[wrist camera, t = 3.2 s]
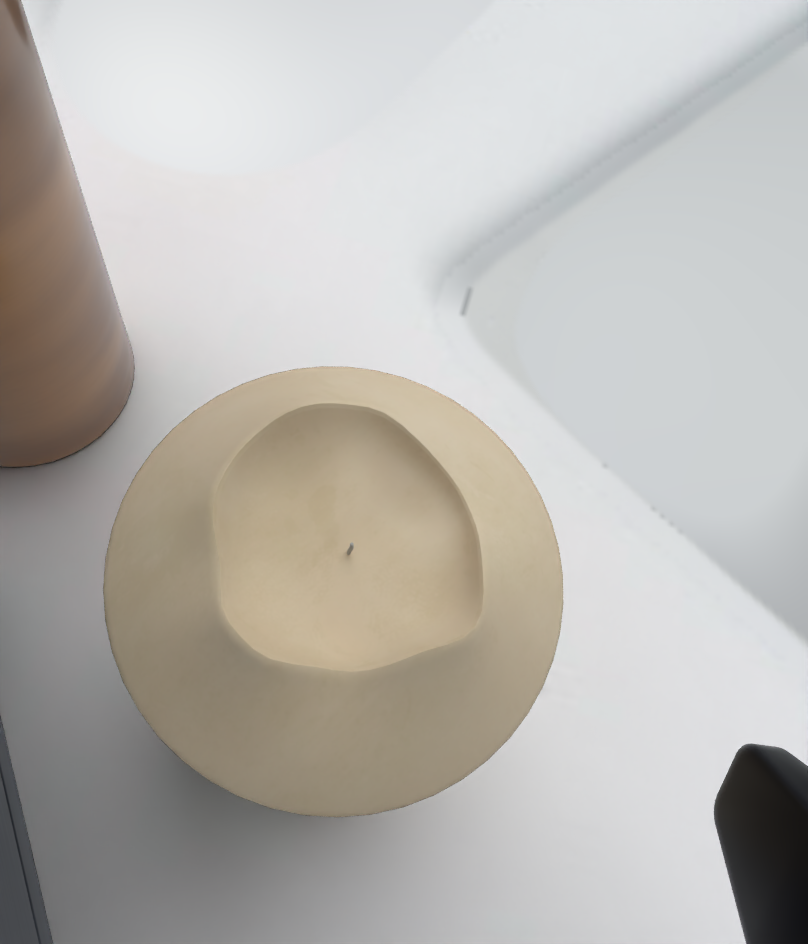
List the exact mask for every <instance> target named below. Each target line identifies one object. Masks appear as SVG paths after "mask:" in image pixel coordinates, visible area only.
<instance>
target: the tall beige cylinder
mask: <svg viewBox="0 0 808 944" xmlns="http://www.w3.org/2000/svg"><path fill="white" fill-rule="evenodd" d="M133 379H134V357H133V352H132V348H131V344H130V341H129V338H128V335H127V331H126V328H125V325H124V322H123V319H122V316H121V313H120V310H119V306H118V303H117V300H116V297H115V294H114V291H113V288H112V284H111V281H110V278H109V275H108V272H107V269H106V266H105V262H104V259H103V256H102V253H101V250H100V247H99V244H98V240H97V237H96V234H95V231H94V228H93V225H92V222H91V218H90V215H89V212H88V209H87V206H86V203H85V200H84V196H83V193H82V190H81V187H80V184H79V181H78V178H77V174H76V171H75V168H74V165H73V162H72V159H71V156H70V152H69V149H68V146H67V143H66V140H65V137H64V134H63V130H62V127H61V124H60V121H59V118H58V115H57V112H56V108H55V105H54V102H53V99H52V96H51V93H50V90H49V86H48V83H47V80H46V77H45V74H44V71H43V68H42V65H41V61H40V58H39V55H38V52H37V49H36V46H35V43H34V39H33V36H32V33H31V30H30V27H29V24H28V21H27V17H26V14H25V11H24V8H23V5H22V2H21V0H0V466H2V467H24V466H33V465H39V464H44V463H48V462H52V461H55V460H58V459H61V458H64V457H66V456H68V455H71V454H73V453H75V452H77V451H79V450H81V449H82V448H84V447H85V446H87V445H89V444H90V443H92V442H93V441H94V440H95V439H97V438H98V437H99V436H100V435H102V434H103V433H104V432H105V431H106V430H107V429H108V428H109V427H110V426H111V425H112V423H113V422H114V421H115V419H116V418H117V417H118V415H119V414H120V413H121V411H122V409H123V407H124V406H125V404H126V402H127V399H128V397H129V394H130V392H131V388H132V384H133Z"/></svg>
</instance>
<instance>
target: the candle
mask: <svg viewBox="0 0 808 944" xmlns="http://www.w3.org/2000/svg"><path fill="white" fill-rule="evenodd" d="M103 593H104V608H105V621H106V626H107V631H108V635H109V640H110V645H111V649H112V653H113V656H114V658H115V661H116V664H117V667H118V669H119V672H120V675H121V677H122V680H123V683H124V684H125V686H126V688H127V690H128V692H129V694H130V695H131V697H132V699H133V701H134V703H135V705H136V706H137V708H138V710H139V712H140V713H141V714H142V716H143V717H144V718H145V720H146V721H147V722H148V724H149V725H150V726H151V728H152V729H153V730H154V732H155V733H156V734H157V736H158V737H159V738H160V739H161V740H162V741H163V742H164V743H165V744H166V745H167V746H168V747H169V748H170V749H171V750H172V751H173V752H174V753H175V754H176V755H177V756H178V757H179V758H180V759H181V760H182V761H183V762H185V763H186V764H187V765H189V766H190V767H191V768H193V769H194V770H196V771H197V772H198V773H200V774H201V775H202V776H204V777H205V778H206V779H208V780H209V781H211V782H213V783H214V784H216V785H218V786H220V787H222V788H224V789H226V790H228V791H229V792H231V793H233V794H235V795H237V796H239V797H241V798H244V799H247V800H249V801H252V802H255V803H258V804H260V805H263V806H266V807H269V808H272V809H277V810H281V811H286V812H291V813H296V814H301V815H309V816H326V817H347V816H359V815H371V814H375V813H380V812H384V811H389V810H393V809H397V808H402V807H405V806H408V805H410V804H413V803H415V802H418V801H421V800H423V799H426V798H428V797H431V796H434V795H435V794H437V793H439V792H441V791H443V790H444V789H446V788H448V787H450V786H452V785H453V784H455V783H457V782H459V781H461V780H462V779H464V778H465V777H466V776H468V775H469V774H470V773H472V772H473V771H474V770H476V769H477V768H478V767H479V766H481V765H482V764H483V763H485V762H486V761H487V760H488V759H489V758H490V757H491V756H492V755H493V754H494V753H495V752H496V751H497V750H498V749H499V748H500V747H501V746H502V745H503V744H504V743H505V742H506V741H507V740H508V739H509V738H510V737H511V736H512V734H513V733H514V732H515V730H516V729H517V728H518V726H519V725H520V724H521V722H522V721H523V720H524V718H525V717H526V716H527V714H528V713H529V711H530V709H531V707H532V705H533V704H534V702H535V700H536V698H537V696H538V695H539V693H540V691H541V689H542V687H543V685H544V682H545V680H546V677H547V675H548V672H549V670H550V667H551V664H552V662H553V659H554V655H555V651H556V647H557V643H558V638H559V634H560V628H561V619H562V610H563V574H562V567H561V560H560V553H559V547H558V543H557V540H556V536H555V533H554V529H553V526H552V522H551V519H550V517H549V514H548V512H547V510H546V507H545V505H544V502H543V500H542V498H541V495H540V494H539V492H538V490H537V488H536V486H535V485H534V483H533V481H532V479H531V478H530V476H529V474H528V472H527V471H526V470H525V468H524V467H523V465H522V464H521V463H520V461H519V460H518V459H517V457H516V456H515V455H514V453H513V452H512V450H511V449H510V448H509V447H508V446H507V445H506V444H505V443H504V442H503V441H502V440H501V439H500V438H499V437H498V435H497V434H496V433H495V432H494V431H493V430H492V429H490V428H489V427H488V426H487V425H486V424H485V423H483V422H482V421H481V420H480V419H479V418H477V417H476V416H475V415H474V414H473V413H471V412H470V411H468V410H467V409H465V408H464V407H462V406H461V405H459V404H458V403H456V402H455V401H453V400H452V399H450V398H448V397H446V396H444V395H442V394H440V393H439V392H437V391H435V390H433V389H431V388H429V387H427V386H424V385H422V384H419V383H416V382H414V381H411V380H408V379H406V378H403V377H400V376H396V375H392V374H388V373H384V372H380V371H375V370H368V369H361V368H353V367H312V368H302V369H294V370H289V371H284V372H280V373H275V374H271V375H267V376H264V377H261V378H258V379H255V380H252V381H250V382H247V383H244V384H241V385H239V386H237V387H235V388H233V389H231V390H229V391H227V392H225V393H223V394H221V395H219V396H217V397H215V398H214V399H212V400H211V401H209V402H208V403H206V404H204V405H203V406H201V407H200V408H198V409H197V410H195V411H194V412H193V413H191V414H190V415H189V416H188V417H187V418H185V419H184V420H183V421H182V422H181V423H179V424H178V425H177V426H176V427H175V428H173V429H172V430H171V431H170V433H169V434H168V435H167V436H166V437H165V438H164V439H163V440H162V441H161V442H160V443H159V444H158V446H157V447H156V448H155V449H154V450H153V451H152V452H151V454H150V455H149V457H148V458H147V459H146V461H145V462H144V464H143V465H142V467H141V468H140V469H139V471H138V472H137V474H136V475H135V477H134V479H133V481H132V483H131V485H130V487H129V489H128V490H127V492H126V494H125V496H124V498H123V500H122V502H121V505H120V508H119V511H118V513H117V516H116V519H115V522H114V524H113V527H112V531H111V535H110V540H109V545H108V549H107V554H106V559H105V572H104V585H103Z"/></svg>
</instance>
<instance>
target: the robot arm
mask: <svg viewBox="0 0 808 944" xmlns="http://www.w3.org/2000/svg"><path fill="white" fill-rule="evenodd" d="M714 819H715V825H716V829H717V833H718V836H719V840H720V844H721V848H722V852H723V856H724V859H725V863H726V867H727V871H728V875H729V879H730V883H731V886H732V890H733V894H734V898H735V902H736V906H737V909H738V913H739V917H740V921H741V925H742V929H743V933H744V936H745V940H746V944H808V766H807V765H805V764H804V763H803V762H801V761H800V760H798V759H797V758H796V757H794V756H793V755H792V754H790V753H789V752H787V751H786V750H784V749H782V748H779V747H773V746H765V745H758V744H746V745H744V746H742V747H741V748H740V749H739V750H738V752H737V753H736V755H735V758H734V760H733V762H732V764H731V766H730V768H729V771H728V773H727V775H726V777H725V779H724V781H723V784H722V786H721V788H720V790H719V792H718V794H717V797H716V800H715V805H714Z"/></svg>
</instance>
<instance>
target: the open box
mask: <svg viewBox="0 0 808 944" xmlns="http://www.w3.org/2000/svg"><path fill="white" fill-rule="evenodd" d="M0 944H53V942H52V938H51V933H50V929H49V925H48V920H47V916H46V912H45V907H44V903H43V899H42V894H41V890H40V886H39V881H38V877H37V873H36V868H35V864H34V860H33V855H32V851H31V847H30V842H29V838H28V834H27V830H26V825H25V821H24V817H23V812H22V808H21V804H20V799H19V795H18V791H17V786H16V782H15V778H14V773H13V769H12V765H11V760H10V756H9V752H8V747H7V743H6V739H5V734H4V730H3V726H2V721H1V717H0Z"/></svg>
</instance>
